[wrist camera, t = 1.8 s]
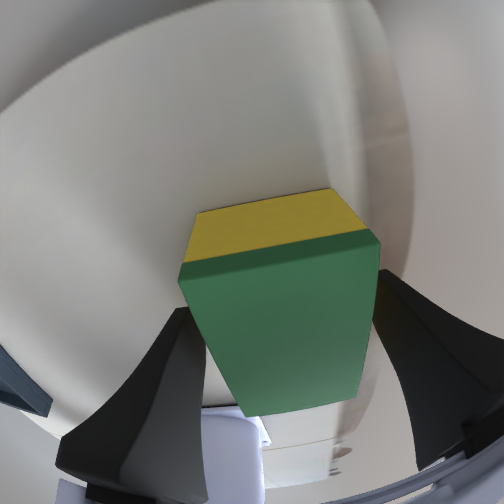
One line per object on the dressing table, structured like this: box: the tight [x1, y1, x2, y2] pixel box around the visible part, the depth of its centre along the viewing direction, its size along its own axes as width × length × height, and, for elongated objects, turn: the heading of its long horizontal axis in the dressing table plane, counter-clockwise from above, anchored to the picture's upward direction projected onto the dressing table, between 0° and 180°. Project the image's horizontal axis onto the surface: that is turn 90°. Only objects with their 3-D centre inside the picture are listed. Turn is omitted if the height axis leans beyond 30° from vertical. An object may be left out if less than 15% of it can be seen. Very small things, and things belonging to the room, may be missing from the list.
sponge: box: [178, 189, 381, 418], centre depth 10 cm, size 8×5×4 cm, turn 11°
